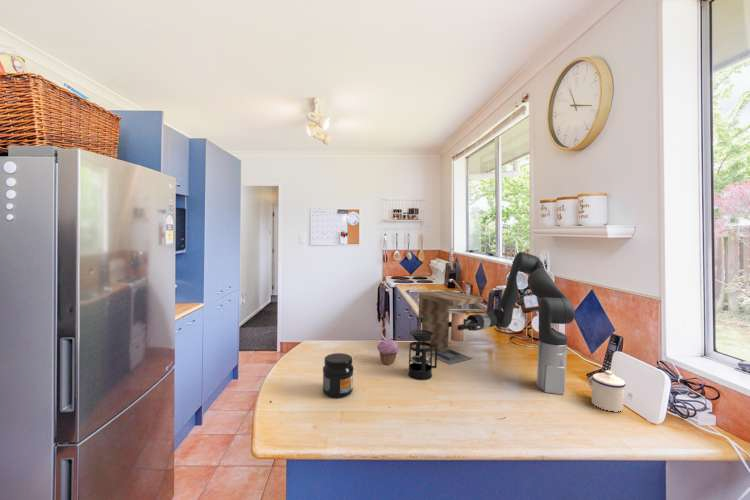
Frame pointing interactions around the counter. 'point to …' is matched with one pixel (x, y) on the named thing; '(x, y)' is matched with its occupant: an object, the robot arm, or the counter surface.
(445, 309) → the wooden side table
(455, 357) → the grey square plate
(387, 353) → the cupcake
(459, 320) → the canister
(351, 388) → the supplement container
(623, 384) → the teacup with lid
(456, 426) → the counter surface
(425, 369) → the french press
